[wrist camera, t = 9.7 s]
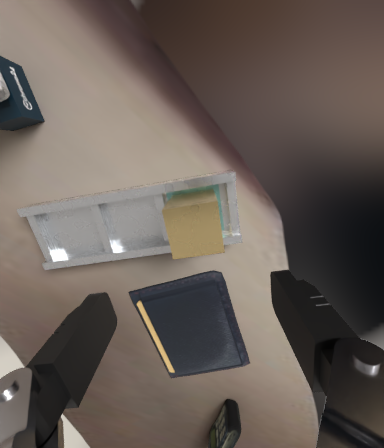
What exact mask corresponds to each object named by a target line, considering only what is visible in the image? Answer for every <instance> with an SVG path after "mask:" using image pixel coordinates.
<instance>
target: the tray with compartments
mask: <svg viewBox="0 0 384 448" xmlns="http://www.w3.org/2000/svg"><path fill="white" fill-rule="evenodd" d="M235 181H236V176H235V171H233V170H227V171H222V172H216V173H210V174H204V175H199V176H193V177H187V178H181V179H176V180H170V181H164V182H158V183H153V184H147V185H141V186H135V187H130V188H124V189H118V190H112V191H107V192H101V193H95V194H89V195H84V196H78V197H72V198H66V199H61V200H55V201H49V202H43V203H38V204H34V205H30V206H27V207H23V208H20V209H17V212H18V214H19V216H20V217H25V216H26V217H27V219H28V222H29V224H30V226H31V228H32V230H33V233H34V235H35V237H36V239H37V241H38V244H39V246H40V248H41V250H42V252H43V255H44V257H45V259H46V261H45V262H43V263H42V265H43V267H44V270H49V269H56V268H63V267H70V266H78V265H85V264H92V263H99V262H107V261H114V260H121V259H128V258H136V257H143V256H150V255H157V254H164V253H172V252H171V248H170V244H169V240H168V235H167V231H166V227H165V222H164V218H163V214H162V209H163V208H164V206H165V205H166V204H167V202H168V201H169V199H170V198H171V197H172V195H178V194H184V193H190V192H196V191H202V190H208V189H213V190H214V192H215V195H216V198H217V201H218V207H219V214H220V222H221V229H222V236H223V243H224V245H230V244H237V243H242V235H241V233H240V225H239V215H238V206H237V196H236V186H235Z"/></svg>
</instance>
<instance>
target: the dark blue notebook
mask: <svg viewBox="0 0 384 448" xmlns="http://www.w3.org/2000/svg"><path fill="white" fill-rule="evenodd" d="M129 294H130V297H131V299H132V301H133V304H134V305H135V307H136V309H137V311H138V313H139V314H140V316H141V318H142V321H143V323H144V325H145V327H146V329H147V331H148V333H149V335H150V337H151V339H152V341H153V343H154V345H155V347H156V349H157V351H158V353H159V355H160V357H161V359H162V361H163V363H164V365H165V367H166V369H167V371H168V373H169V375H170V377H171V378H175V377H181V376H190V375H196V374H202V373H208V372H214V371H220V370H226V369H232V368H238V367H243V366H245V365H247V364H249V363H250V362H249V358H248V354H247V351H246V348H245V345H244V342H243V339H242V336H241V333H240V330H239V327H238V324H237V321H236V317H235V314H234V310H233V307H232V303H231V300H230V297H229V293H228V289H227V286H226V282H225V280H224V277H223V275H222V273H221V272H217V271H209V272H204V273H200V274H196V275H192V276H189V277H185V278H181V279H177V280H174V281H170V282H166V283H162V284H157V285H153V286H149V287H145V288H142V289H138V290H134V291H130V292H129Z"/></svg>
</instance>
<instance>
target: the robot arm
mask: <svg viewBox="0 0 384 448" xmlns="http://www.w3.org/2000/svg"><path fill="white" fill-rule="evenodd" d="M270 277H271V295H272V304H273V308H274V311H275V314H276V316H277V318H278V320H279V322H280V324H281V326H282V328H283V330H284V333H285V335H286V337H287V339H288V341H289V343H290V345H291V347H292V349H293V352H294V354H295V356H296V358H297V360H298V362H299V364H300V366H301V369H302V371H303V373H304V375H305V377H306V379H307V381H308V383H309V385H310V388H311V390H312V392H324V393H325V395H326V401H325V407H324V412H323V413H322V416H321V421H320V427H319V432H318V438H317V444H316V448H384V350H383V349H382V348H380V347H379V346H377V345H375V344H373V343H371V342H369V341H366V340H363V339H360V338H359V337H358V336H357V334H356V333H355V332H354V331H353V330H352V328H351V327H350V326H349V325H348V324H347V323H346V322H345V320H344V319H343V318H342V317H341V316H340V315H339V313H338V312H337V311H336V310H335V309H334V308H333V307H332V305H330V304H329V302H328V301H327V300H326V299H325V297H323V295H322V294H321V293H320V292H319V290H318V289H317V288H316V287H315V286H314V285H312V284H310V283H309V282H307V281H305V280H296V278H295V277H294V276H293V275H292V273H291V272H290V271H289V270H282V271H274V272H271V275H270ZM116 326H117V317H116V314H115V311H114V309H113V306H112V303H111V301H110V298H109V296H108V294H107V293H106V292H104V293H96V294H90V295H88V296H87V297H86V299H85V300H84V301H83V303H82V304H81V305H80V306H79V307H77V308H76V309H75V310H74V311H72V312H71V313H70V314H69V315H68V316H67V317H66V318H65V320H64V321H63V322H62V323H61V326H59V327H58V328H57V329H56V331H55V332H54V334H52V336H51V337H50V338H49V339H48V340H47V342H46V343H45V344H44V345H43V347H42V348H41V349H40V350H39V351H38V353H37V354H36V355H35V356H34V358H33V359H32V360H31V361H30V363H29V364H28V365H27V366H26V367H25V368H20V369H17V370H14V371H12V372H10V373H8V374H7V375H5V376H4V377H2V378H1V379H0V448H64V436H63V421H62V419H61V415H62V413H63V411H64V409H66V408H78V407H79V405H80V403H81V401H82V399H83V396H84V394H85V392H86V390H87V388H88V386H89V384H90V382H91V380H92V378H93V376H94V373H95V371H96V369H97V367H98V365H99V363H100V361H101V359H102V357H103V355H104V353H105V351H106V348H107V346H108V344H109V342H110V340H111V338H112V336H113V334H114V332H115V330H116Z"/></svg>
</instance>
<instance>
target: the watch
mask: <svg viewBox="0 0 384 448" xmlns="http://www.w3.org/2000/svg"><path fill="white" fill-rule="evenodd" d="M41 122H44V119H43V116H42V114H41V112H40V109H39V107H38V104H37V102H36V100H35V97H34V95H33V93H32V90H31V88H30V85H29V83H28V81H27V78H26V76H25V74H24V71H23V69H22V67H21V66H19V65H17V64H15V63H13V62H11V61H9V60H7V59H5V58H3V57H1V56H0V129H2V130H10V131H14V130H17V129H21V128H24V127H27V126H31V125H34V124H37V123H41Z"/></svg>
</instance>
